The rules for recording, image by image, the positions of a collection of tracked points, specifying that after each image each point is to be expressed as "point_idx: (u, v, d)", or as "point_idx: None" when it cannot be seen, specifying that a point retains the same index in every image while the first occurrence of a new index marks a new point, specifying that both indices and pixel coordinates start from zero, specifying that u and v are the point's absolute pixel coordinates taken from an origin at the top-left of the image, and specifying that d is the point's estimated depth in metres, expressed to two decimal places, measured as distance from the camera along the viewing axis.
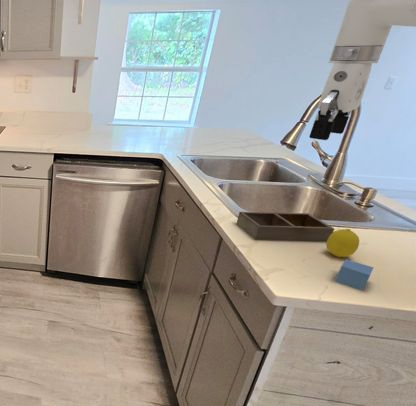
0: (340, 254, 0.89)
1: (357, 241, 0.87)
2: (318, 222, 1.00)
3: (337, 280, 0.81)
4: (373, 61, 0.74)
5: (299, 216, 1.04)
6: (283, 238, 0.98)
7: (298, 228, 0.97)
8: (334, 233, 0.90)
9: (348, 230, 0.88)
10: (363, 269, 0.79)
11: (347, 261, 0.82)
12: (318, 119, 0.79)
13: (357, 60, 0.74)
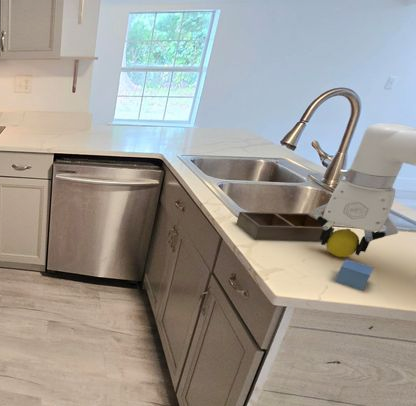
0: (340, 254, 0.89)
1: (357, 241, 0.87)
2: (318, 222, 1.00)
3: (337, 280, 0.81)
4: (356, 185, 0.82)
5: (299, 216, 1.04)
6: (283, 238, 0.98)
7: (298, 228, 0.97)
8: (334, 233, 0.90)
9: (348, 230, 0.88)
10: (363, 269, 0.79)
11: (347, 261, 0.82)
12: None
13: (346, 180, 0.85)
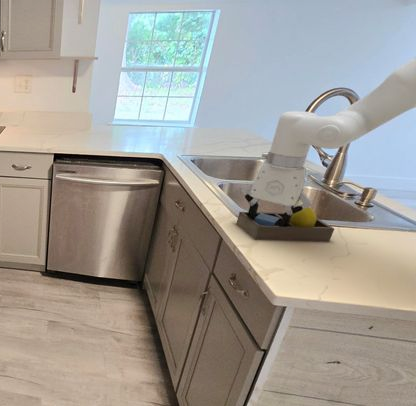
0: None
1: (314, 217, 0.98)
2: (318, 222, 1.00)
3: None
4: (273, 165, 0.94)
5: None
6: (283, 238, 0.98)
7: (298, 228, 0.97)
8: None
9: None
10: (271, 219, 1.00)
11: (261, 214, 1.03)
12: None
13: (267, 161, 0.97)
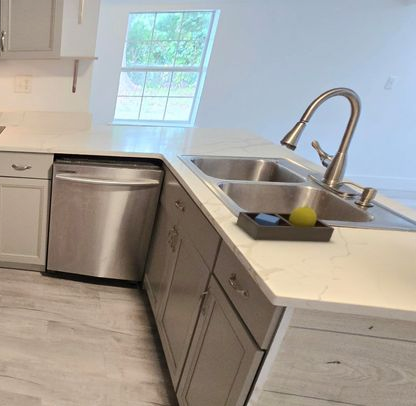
0: None
1: (314, 217, 0.98)
2: (318, 222, 1.00)
3: None
4: None
5: None
6: (283, 238, 0.98)
7: (298, 228, 0.97)
8: (295, 210, 1.00)
9: (307, 207, 0.99)
10: (271, 219, 1.00)
11: (261, 214, 1.03)
12: None
13: None
